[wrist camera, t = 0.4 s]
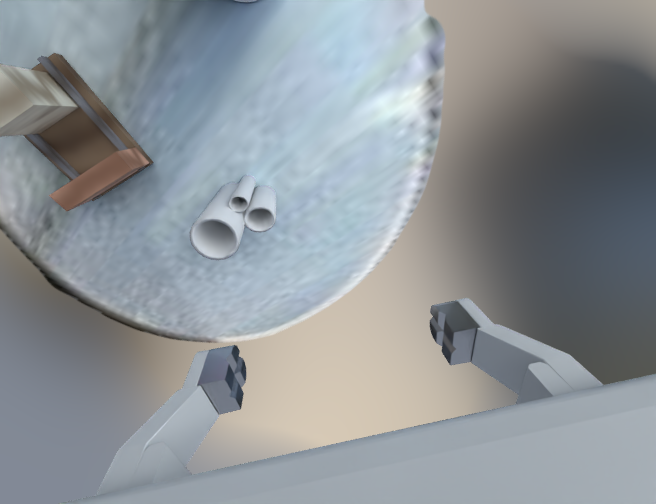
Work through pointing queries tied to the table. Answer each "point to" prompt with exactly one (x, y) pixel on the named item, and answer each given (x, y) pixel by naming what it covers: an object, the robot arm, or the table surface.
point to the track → (86, 142)
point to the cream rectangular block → (30, 101)
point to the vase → (233, 217)
